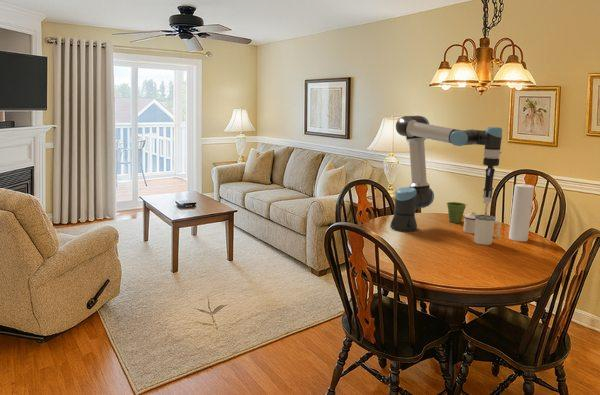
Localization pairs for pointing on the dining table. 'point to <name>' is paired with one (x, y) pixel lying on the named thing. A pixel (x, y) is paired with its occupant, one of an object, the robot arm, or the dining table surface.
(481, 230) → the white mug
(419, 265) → the dining table surface
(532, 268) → the dining table surface
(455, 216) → the plant pot
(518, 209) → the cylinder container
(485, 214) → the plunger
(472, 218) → the teacup with lid
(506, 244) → the dining table surface
